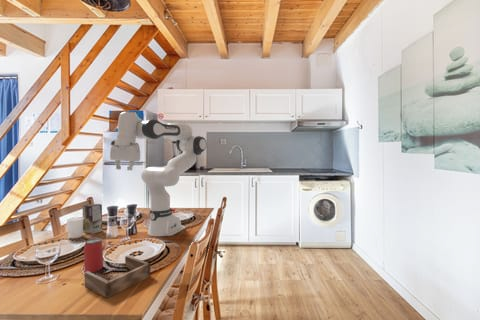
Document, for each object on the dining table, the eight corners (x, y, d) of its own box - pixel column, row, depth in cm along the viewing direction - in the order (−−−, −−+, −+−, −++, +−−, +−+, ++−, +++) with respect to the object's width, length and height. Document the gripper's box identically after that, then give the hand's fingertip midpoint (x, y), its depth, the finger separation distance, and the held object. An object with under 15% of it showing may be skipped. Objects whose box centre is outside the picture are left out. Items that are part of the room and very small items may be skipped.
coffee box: (102, 230, 154) (102, 204, 153) (92, 234, 148) (92, 206, 147) (92, 228, 158) (92, 202, 157) (82, 231, 152) (81, 204, 151)
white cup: (73, 234, 148) (73, 216, 148) (86, 234, 148) (86, 217, 147) (63, 238, 140) (63, 220, 140) (77, 239, 140) (77, 221, 139)
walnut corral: (127, 267, 107) (127, 255, 107) (150, 276, 100) (150, 263, 100) (84, 285, 93) (84, 272, 92) (107, 298, 85) (107, 283, 85)
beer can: (94, 274, 101) (94, 244, 101) (80, 272, 103) (79, 242, 102) (106, 266, 108) (106, 238, 107) (93, 265, 109) (92, 237, 109)
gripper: (144, 143, 127) (142, 171, 127) (119, 143, 138) (117, 169, 138) (133, 141, 122) (131, 170, 122) (108, 142, 133) (106, 168, 132)
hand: (123, 169), depth 130 cm, fingers open, 8 cm apart
